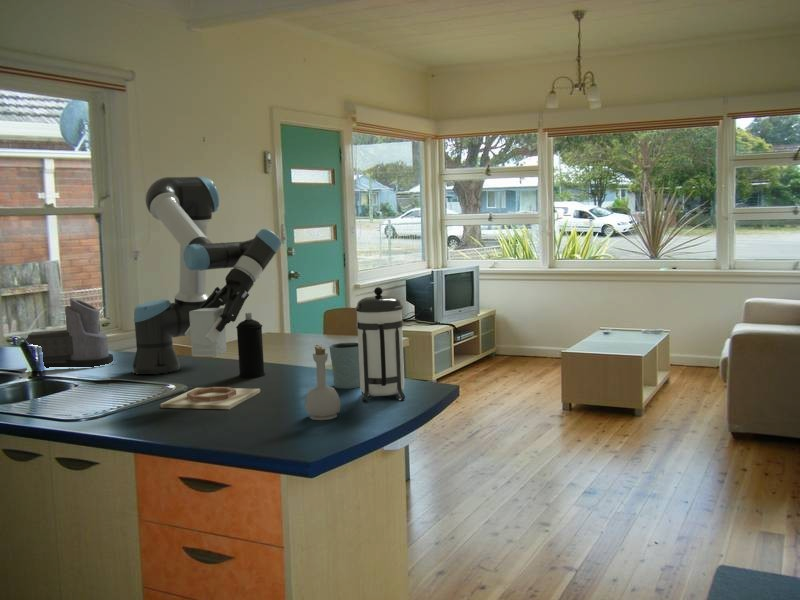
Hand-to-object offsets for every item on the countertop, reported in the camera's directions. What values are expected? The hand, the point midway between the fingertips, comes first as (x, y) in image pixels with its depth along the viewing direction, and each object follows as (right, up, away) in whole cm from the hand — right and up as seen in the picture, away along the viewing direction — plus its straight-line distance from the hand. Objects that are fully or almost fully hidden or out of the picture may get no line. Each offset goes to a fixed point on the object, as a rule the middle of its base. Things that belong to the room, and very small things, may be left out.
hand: (198, 338), depth 218 cm
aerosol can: (+8, -14, +37) cm, 40 cm away
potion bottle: (+36, -19, -20) cm, 45 cm away
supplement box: (+2, -5, +3) cm, 6 cm away
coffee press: (+51, -16, -2) cm, 53 cm away
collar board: (+3, -17, +4) cm, 18 cm away
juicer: (-61, -13, +66) cm, 91 cm away
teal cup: (+40, -15, +16) cm, 45 cm away
